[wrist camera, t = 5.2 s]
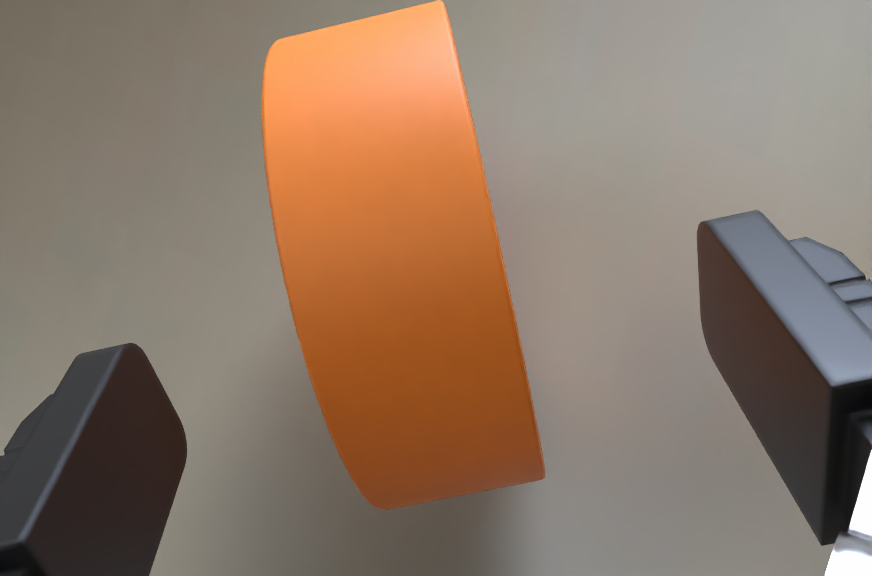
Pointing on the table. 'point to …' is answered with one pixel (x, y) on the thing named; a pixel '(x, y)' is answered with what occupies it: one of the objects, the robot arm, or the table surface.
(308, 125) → the disc
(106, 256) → the table surface
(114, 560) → the robot arm
